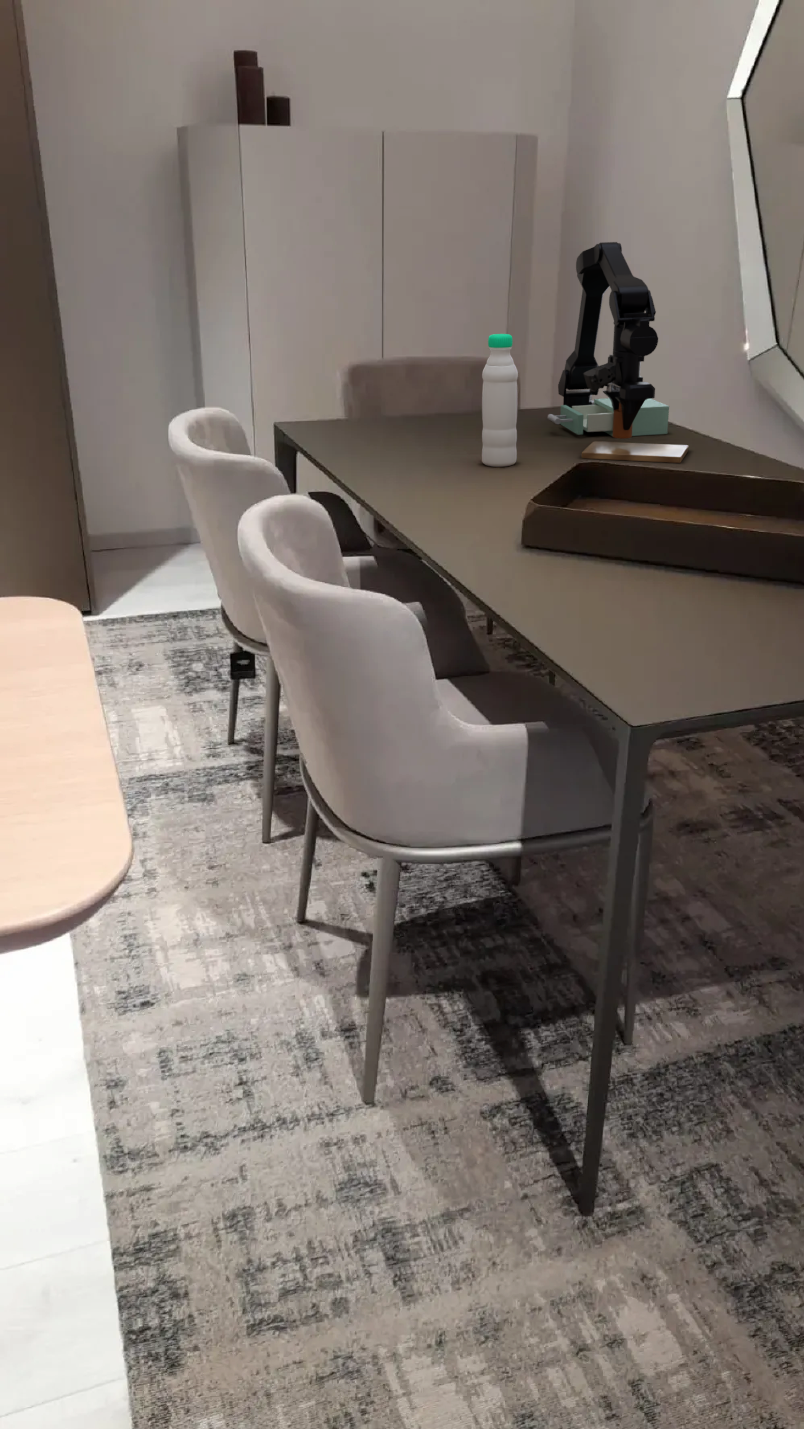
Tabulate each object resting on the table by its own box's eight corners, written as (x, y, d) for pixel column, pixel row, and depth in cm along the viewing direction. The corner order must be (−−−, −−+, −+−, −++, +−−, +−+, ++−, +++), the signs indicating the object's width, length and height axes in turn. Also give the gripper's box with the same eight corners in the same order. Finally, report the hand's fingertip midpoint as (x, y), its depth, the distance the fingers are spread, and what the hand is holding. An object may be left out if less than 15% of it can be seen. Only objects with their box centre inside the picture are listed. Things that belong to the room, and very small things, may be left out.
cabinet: (613, 437, 246) (615, 409, 243) (592, 425, 259) (594, 399, 256) (667, 433, 248) (669, 406, 245) (644, 422, 261) (645, 396, 258)
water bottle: (514, 467, 220) (516, 336, 210) (479, 467, 222) (479, 336, 211) (518, 460, 226) (520, 332, 216) (484, 459, 228) (484, 332, 217)
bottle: (610, 438, 230) (612, 399, 227) (614, 434, 234) (616, 395, 230) (629, 439, 229) (632, 399, 226) (633, 435, 232) (635, 396, 229)
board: (581, 458, 227) (581, 452, 226) (593, 446, 237) (593, 441, 236) (680, 463, 220) (680, 457, 220) (688, 451, 230) (688, 445, 230)
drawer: (559, 435, 244) (560, 416, 243) (542, 425, 256) (543, 406, 255) (627, 431, 246) (628, 412, 245) (607, 421, 258) (608, 402, 257)
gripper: (575, 347, 231) (572, 422, 238) (604, 358, 215) (600, 438, 221) (625, 344, 233) (621, 419, 239) (658, 355, 216) (653, 435, 223)
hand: (622, 428), depth 231 cm, fingers closed on bottle, 4 cm apart
